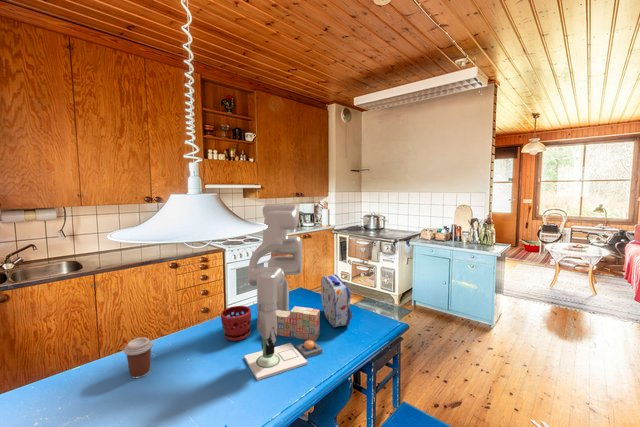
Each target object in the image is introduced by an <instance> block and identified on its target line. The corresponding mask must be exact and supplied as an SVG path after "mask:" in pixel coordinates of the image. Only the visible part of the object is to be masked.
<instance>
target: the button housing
mask: <svg viewBox="0 0 640 427" xmlns="http://www.w3.org/2000/svg"><path fill="white" fill-rule="evenodd" d="M313 342H314V349H312V350H306V349H305V348H304V342H303V343H300V344H296V346H295V347H296V348H295V349H296V350H297V351H298V352H299V353H300V354H301V355H302V356H303V357H304V358H305V359H308V358H311V357H313V356H317V355H320V354H323V348H322V347H320V346H319V344H317V342H316V341H313Z"/></svg>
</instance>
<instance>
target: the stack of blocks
mask: <svg viewBox="0 0 640 427" xmlns="http://www.w3.org/2000/svg"><path fill="white" fill-rule="evenodd" d="M289 311H290V312H288V311H281V310H277V311H276V317H277V336H283V337H288V338H293V339H294V338H295V339H301V340H305V341H308V340H311V341H314V342H316V341H317V340H318V338H319V336H320V327H321V326H320V318H321V316H320V314H321V312H320V311H321V310H320V309H317V308H311V307H303V306H296V305H294V307H293V308H292V309H291V310H289Z"/></svg>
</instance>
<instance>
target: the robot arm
mask: <svg viewBox="0 0 640 427" xmlns="http://www.w3.org/2000/svg"><path fill="white" fill-rule="evenodd" d="M262 216H263V218H264V222H263V225H264V224H266V225H268V228H267V229H266V230H264V229H263V232H262V242H261V244H260V245H259V246H258V247H256V249H255V250H254V251H253V253H252V254H251V257H250V258H249V264H248V272H247V281H248V284H249V285H250V286H253V287H256V300H257V302H256V303H257V304H256V310H257V314H256V315H257V316H256V317H257V318H256V319H257V321H256V330H257V332H258V333H259V335H260V338H261V339H262V337H263V338H264V339H266V342H267V345H266V355H270V354H274V347H275V343H276V342H277V338H276V337H277V336H278V335H277V317H276V311H277V310H281V311H288V312H290V311H291V310H290V309H289V304H290V302H289V300H290V299H289V298H290V296H289V282H288V279H287V278H286V276H298V275H301V273H302V271H303V243H302V238H301V237H299V236H297V235H288V230H290V231H292V230H296V229H297V228H298V225H299V224H298V223H299V218H300V209H299V207H298V205H297V204H294V203H293V204H292V203H291V204H289V203H288V204H287V203H285V204H284V203H283V204H282V203H281V204H280V203H273V204H271V203H270V204H266V205H264V206H263V207H262ZM270 253H272V254H274V255H276V256H272V257H270V258H269V260H268V261H267V266H262V267H261V266H257V265H258V262H259V261H260V259H262V257H264V256H266V255H268V254H270ZM278 255H279V256H278ZM281 255H282V256H281ZM286 255H287V256H286ZM291 255H292V256H291ZM270 335H271V336H270ZM270 338H271V340H269V339H270ZM261 350H263V341H262V340H261Z"/></svg>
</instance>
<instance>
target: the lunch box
mask: <svg viewBox="0 0 640 427" xmlns="http://www.w3.org/2000/svg"><path fill="white" fill-rule="evenodd" d="M320 296H321V298H320V299H321V305H322V309H323V312H324V316H325V319H326V320H327V321H328V322H329V324H330V325H331V327H332V328H336V327H340V326H341V327H343V326H347V327H348V326H349V325H351V324H350V323H351V320H353V311H352V310H351V297H352V296H351V291H350V287H348V286H347V284H346V283H345V282H344V281H343V280H342V279H341V278H340V277H339V275H337V274H331V275H323V276H321V281H320Z"/></svg>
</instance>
